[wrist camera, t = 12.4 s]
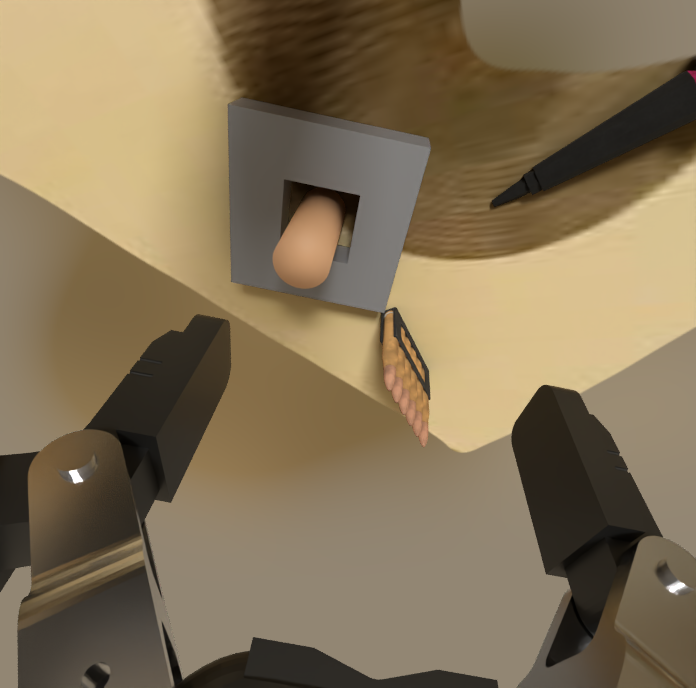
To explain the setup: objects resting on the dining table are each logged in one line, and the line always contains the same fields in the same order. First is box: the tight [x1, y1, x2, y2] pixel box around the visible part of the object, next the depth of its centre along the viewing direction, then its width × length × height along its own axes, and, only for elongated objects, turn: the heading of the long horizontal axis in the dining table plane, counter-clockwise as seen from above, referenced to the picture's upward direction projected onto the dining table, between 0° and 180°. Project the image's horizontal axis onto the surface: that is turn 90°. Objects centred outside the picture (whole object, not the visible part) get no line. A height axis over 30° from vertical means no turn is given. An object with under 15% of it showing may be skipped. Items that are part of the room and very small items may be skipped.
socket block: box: [228, 98, 431, 313], centre depth 37 cm, size 16×16×4 cm
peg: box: [273, 187, 346, 289], centre depth 34 cm, size 4×4×11 cm
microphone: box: [492, 66, 696, 207], centre depth 31 cm, size 6×6×20 cm
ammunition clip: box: [380, 307, 430, 447], centre depth 43 cm, size 11×2×12 cm, turn 27°
